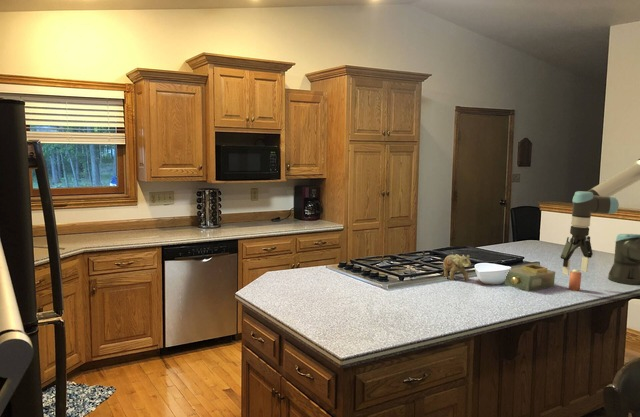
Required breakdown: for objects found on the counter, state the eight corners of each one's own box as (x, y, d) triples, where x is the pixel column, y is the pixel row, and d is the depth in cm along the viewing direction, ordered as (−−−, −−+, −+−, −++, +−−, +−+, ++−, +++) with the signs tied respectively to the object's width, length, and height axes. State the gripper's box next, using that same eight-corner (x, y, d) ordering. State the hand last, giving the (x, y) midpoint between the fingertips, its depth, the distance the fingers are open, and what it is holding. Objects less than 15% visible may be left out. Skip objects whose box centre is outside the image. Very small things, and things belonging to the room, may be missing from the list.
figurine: (451, 290, 249) (455, 259, 242) (436, 274, 263) (439, 244, 256) (471, 287, 251) (475, 256, 245) (455, 272, 265) (459, 242, 259)
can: (572, 287, 244) (574, 268, 243) (582, 290, 240) (583, 270, 239) (566, 289, 242) (568, 269, 241) (575, 291, 238) (577, 272, 237)
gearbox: (530, 279, 257) (531, 262, 255) (554, 286, 245) (556, 268, 244) (501, 284, 246) (503, 267, 245) (526, 292, 235) (527, 273, 234)
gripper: (588, 223, 247) (583, 268, 250) (555, 226, 234) (550, 273, 237) (604, 226, 240) (599, 271, 243) (570, 229, 228) (565, 277, 230)
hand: (574, 272), depth 240 cm, fingers open, 13 cm apart
